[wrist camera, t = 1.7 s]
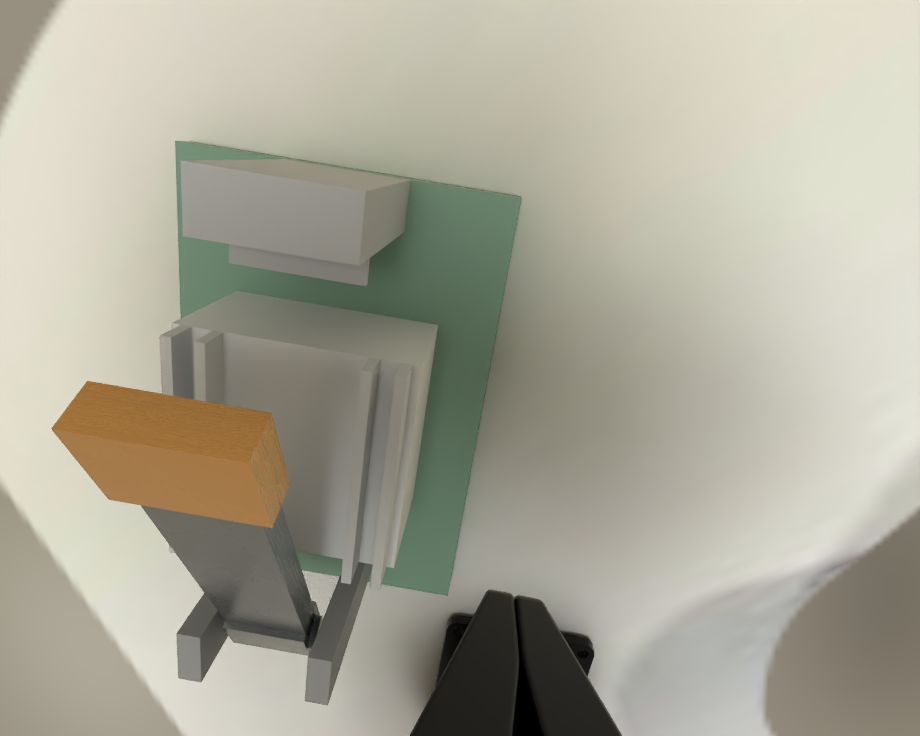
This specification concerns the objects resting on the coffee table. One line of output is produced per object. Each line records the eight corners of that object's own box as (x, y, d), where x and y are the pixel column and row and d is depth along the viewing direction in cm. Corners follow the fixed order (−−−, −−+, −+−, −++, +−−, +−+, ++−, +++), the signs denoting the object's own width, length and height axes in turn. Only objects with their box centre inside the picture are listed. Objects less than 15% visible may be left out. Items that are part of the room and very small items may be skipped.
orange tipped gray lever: (330, 619, 19) (319, 657, 18) (237, 602, 19) (223, 640, 18) (275, 404, 10) (249, 463, 9) (94, 372, 10) (51, 429, 9)
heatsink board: (449, 578, 24) (427, 748, 17) (200, 534, 24) (79, 685, 17) (520, 196, 18) (529, 220, 11) (192, 141, 18) (4, 133, 12)
